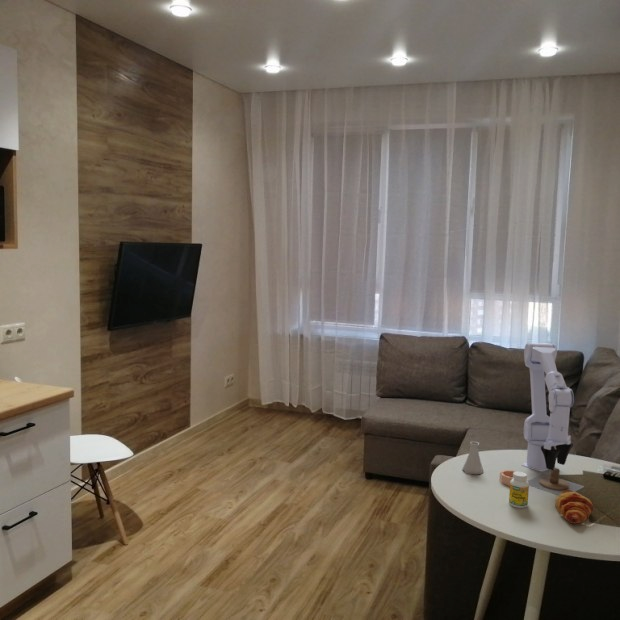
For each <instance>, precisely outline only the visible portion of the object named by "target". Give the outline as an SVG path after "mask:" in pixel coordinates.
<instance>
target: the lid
mask: <svg viewBox="0 0 620 620" xmlns="http://www.w3.org/2000/svg"><path fill="white" fill-rule="evenodd" d="M560 472H561V471H560V469H559V468H557V467H554V470H550V474H549V475H550V477H544V478H541V479H540V480H539V483H540V485H542V486H543V487H546V488H548V489H552V490H567V489H568V488H569V484H568V483H567V482H566V481H567V480H566V481H564V480H565V479H563V480H561V479H562V478H560ZM559 478H560V479H559Z"/></svg>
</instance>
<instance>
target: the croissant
mask: <svg viewBox="0 0 620 620" xmlns="http://www.w3.org/2000/svg"><path fill="white" fill-rule="evenodd" d="M554 506H555V507H556V508H557V509H556V510H557V512H558V513H559V514H560V516H562V517H563V518H564V519H566V521H567V522H569V523H571V524H582V523H585V521H586V520H588V518H589V517H590V515H591V514H592V512H593V510H594V509H595V508H594V505H593V503H592V501H591V500H590V499H589V498H588V497H586V496H584V495H583V494H580V493H579V492H577V491H576V492H574V491H571V490H565V491H563V492H562V493H561V494H560V495H557V497H556V499H555V503H554Z"/></svg>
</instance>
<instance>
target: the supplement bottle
mask: <svg viewBox="0 0 620 620" xmlns="http://www.w3.org/2000/svg"><path fill="white" fill-rule="evenodd" d="M527 479H528V474H527V473H525V472H522V471H517V472H514V473H513V479H512V480H511V481H510V486H509V492H508V493H509V496H508V497H509V498H508V504H509V505H510V506H511V507H514V508H516V509H524V508H527V507H528V505H529V504H528V503H529V488H530V486H529V483H528V481H529V480H527Z"/></svg>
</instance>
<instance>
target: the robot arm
mask: <svg viewBox="0 0 620 620" xmlns="http://www.w3.org/2000/svg"><path fill="white" fill-rule="evenodd" d="M557 349H558V348H557V346H556V344H555V343H554V342H551V343H546V342H545V343H544V342H531V341H529V342H527V343H526V344H525V346H524V350H523V356H524V357H523V358H524V360H523V361H524V364H525V367H527V368H528V369H529V375H530V376H529V377H530V378H529V379H530V397H531V398H530V399H531V415H529V416H528V417H526V418H525V419H524V423H523V424H524V425H523V438H524V440H525V441H526V442H527V449H526V450H527V451H526V452H527V453H526V462H524V463H522V464H521V466H523V467H525V468H529V469H532V470H534V471H537V472H541V473H543V472H546V471H548V470H550V471H551V470H554V468H556V462H557V464H559V465H563V466H565V464H566V462H567V458H568V456H569V453H570V451H571V449H572V448H573V447H574V443H572V441H571V437H572V435H570V434H569V427H570V426H569V425H570V413H571V412H570V410H571V408H572V407H573V405H574V403H575V396H574V395H575V394H574V392H573V389H572V388H570V387H568V386H567V384H566V381H565V379H564V376H563V374H562V373H561V372H559V371H558V369H557V366H556V359H557V356H558V350H557ZM546 388H547V390H548V396H547V397H548V404H549V405H548V409H549V410H548V411H550V413H549V415H548V414H547V413H548V412H547V400H546V399H547V398H546Z"/></svg>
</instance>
